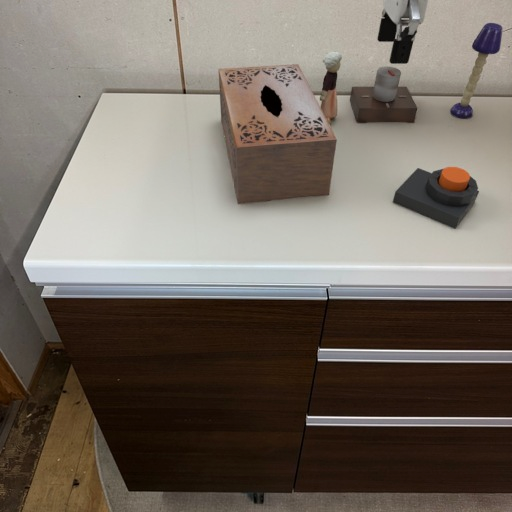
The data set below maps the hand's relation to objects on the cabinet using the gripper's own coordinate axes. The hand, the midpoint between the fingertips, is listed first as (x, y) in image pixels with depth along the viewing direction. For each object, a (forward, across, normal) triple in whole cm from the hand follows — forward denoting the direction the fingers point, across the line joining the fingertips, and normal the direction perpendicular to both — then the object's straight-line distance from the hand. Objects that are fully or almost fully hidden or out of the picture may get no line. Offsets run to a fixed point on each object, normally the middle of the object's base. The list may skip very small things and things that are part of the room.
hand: (391, 51), depth 85 cm
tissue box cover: (+12, -15, +22) cm, 29 cm away
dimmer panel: (+12, 0, 0) cm, 12 cm away
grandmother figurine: (+12, -2, +11) cm, 16 cm away
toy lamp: (+12, -2, -16) cm, 20 cm away
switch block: (+12, -29, -2) cm, 31 cm away
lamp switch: (+8, -29, -4) cm, 30 cm away
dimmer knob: (+9, 0, 0) cm, 9 cm away
